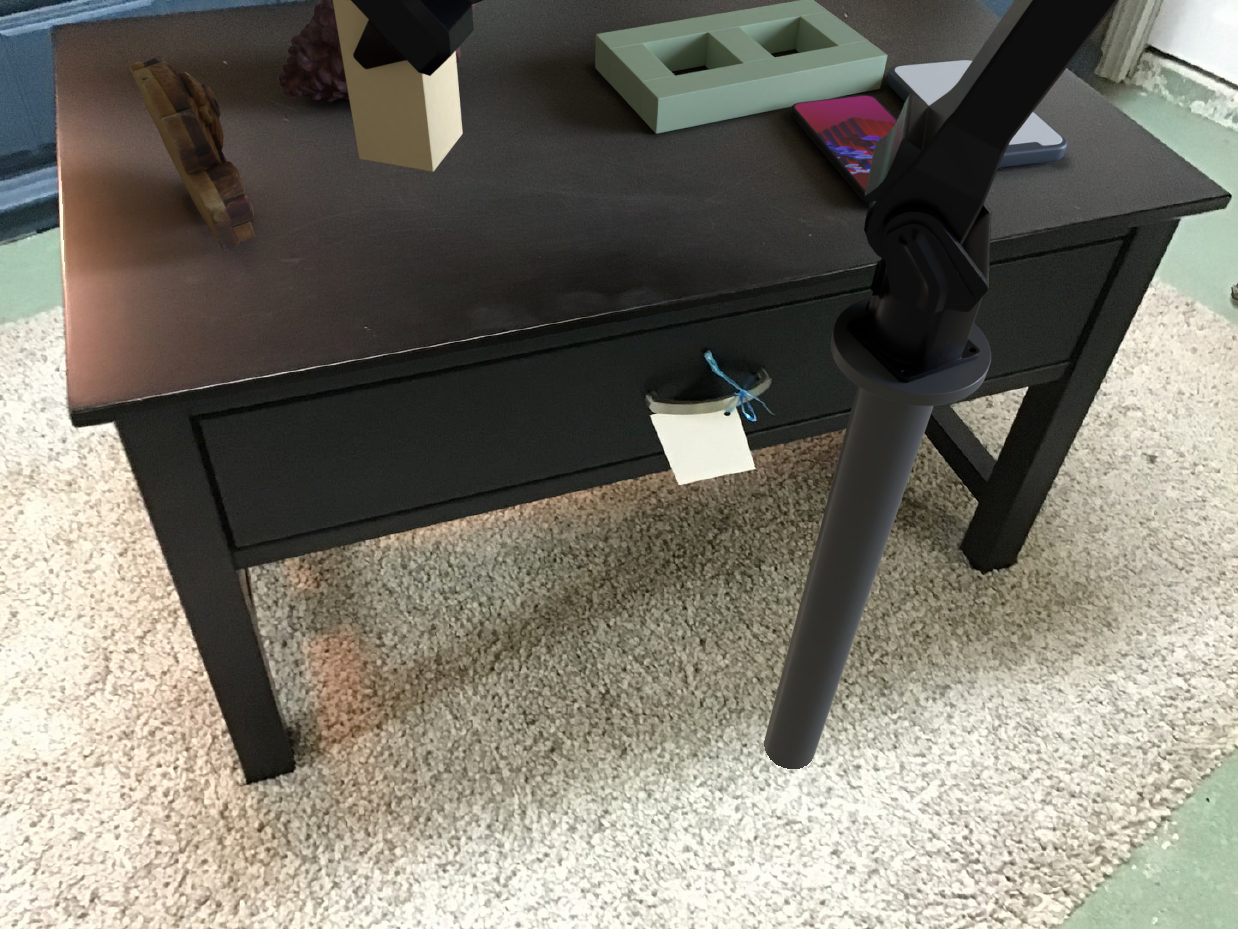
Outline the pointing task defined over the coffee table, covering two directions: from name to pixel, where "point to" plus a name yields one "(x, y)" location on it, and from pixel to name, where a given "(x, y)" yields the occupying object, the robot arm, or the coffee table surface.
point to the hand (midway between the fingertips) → (379, 42)
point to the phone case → (940, 77)
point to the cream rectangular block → (398, 103)
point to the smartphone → (846, 133)
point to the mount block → (737, 64)
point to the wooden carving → (197, 148)
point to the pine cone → (318, 59)
